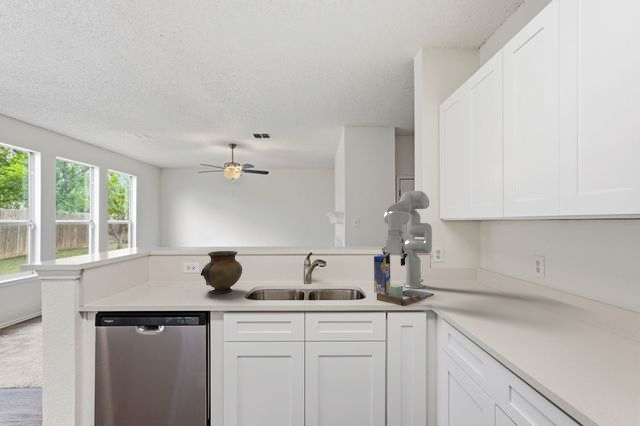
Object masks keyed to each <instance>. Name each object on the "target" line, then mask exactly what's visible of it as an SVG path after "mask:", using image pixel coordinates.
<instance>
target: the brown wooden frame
mask: <svg viewBox="0 0 640 426" xmlns="http://www.w3.org/2000/svg"><path fill="white" fill-rule="evenodd" d="M376 300H377V301H381V302H384V303H389V304H393V305H397V306H405V305H407V304H410V303H414V302H417V301H419V300H422V299H421V295H420V294H419V295H416V296H413V297H409V296H408V297H406V298H404V297H403V298H399V297H394V296H389V291H388V292H387V293H376Z"/></svg>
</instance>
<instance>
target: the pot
mask: <svg viewBox="0 0 640 426" xmlns="http://www.w3.org/2000/svg"><path fill="white" fill-rule="evenodd" d="M237 254H238V251H235V250H216V251H210V252H208V253H207V256H209V257H210V261H209V262H208V263H206V264H205V266H204V267H203V268H202V270H201V271H200V276H201V277H203V278H204V280H205V285H206V286H210V287H211V288H213V289H211V293H212V294H213V293H214V294H215V295H222V294H223V293H224V294H229V292H230V293H232V292H233V288H231V287H234V285H235V284H237V283H238V282H239V280H240V279H241V276H242V275H243V266H242V264H241V263H240V262H239V261H238V260H236V255H237Z"/></svg>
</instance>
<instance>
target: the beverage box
mask: <svg viewBox="0 0 640 426" xmlns="http://www.w3.org/2000/svg"><path fill="white" fill-rule="evenodd" d="M389 257H390V258H391V254H390V255H389ZM373 275H374V277H373V289H374V290H373V292H374V293H376V294H377V293H380V294H383V293H387V292H389V286H391V263H390V264H386V257H385V256H384V254H378V255H374V256H373Z"/></svg>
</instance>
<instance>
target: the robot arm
mask: <svg viewBox="0 0 640 426" xmlns="http://www.w3.org/2000/svg"><path fill="white" fill-rule="evenodd" d="M429 206H430V199H429V197H428V195H427V194H426V192H424V191H422V190H409V191H405V192H403V193H402V195H401V197H400V199H399V200H398V202H396V203H393V204H391V205H390V206H388V207H387V208H386V210H385V212H384V215H383V222H384V223H385V224H386V225H387V236H386V242H385V246H384V247H382V248H381V251H382V255H384V256H385V257H386V264H390V265H391V255H399V256H400V266H403V267H404V266H405V283H404V284H403V287H405V288H408V289H422V288H424V284H422V283H424V279H422V269H421V268H422V267H421V266H422V262H421V261H422V260H421V258H420V257H419V255H418V254H420V255H423V254H424V255H429V254H431V252H432V249H433V228H432V225H431V224H430V223H428V222H421V215H420V213H419V212H418V211H417V210H426V209H428V208H429ZM403 225H407V226H406V234H407V236H408V237H411V238H408V239H406V240H405V236H403V235H405V232H404V231H403ZM423 238H424V239H423ZM389 255H390V257H389Z"/></svg>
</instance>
